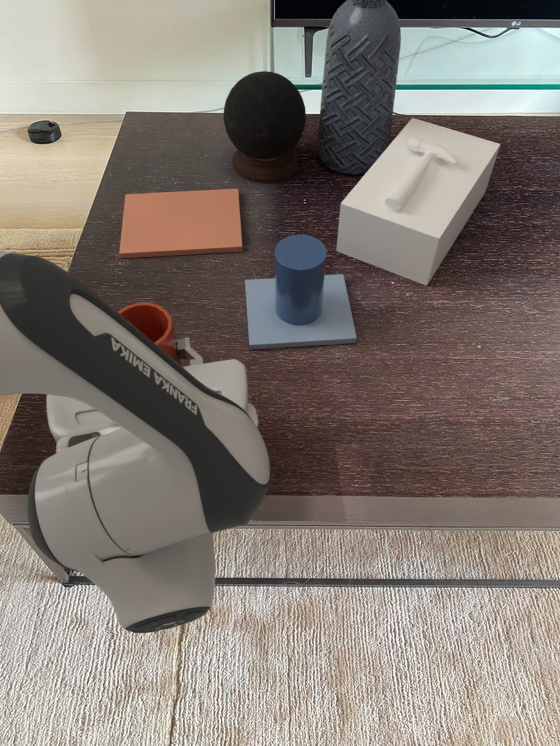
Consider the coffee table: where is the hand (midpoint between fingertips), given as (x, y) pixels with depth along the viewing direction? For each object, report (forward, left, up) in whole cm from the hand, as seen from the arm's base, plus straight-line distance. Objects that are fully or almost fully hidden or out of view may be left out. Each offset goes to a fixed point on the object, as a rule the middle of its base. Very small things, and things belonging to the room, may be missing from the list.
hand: (146, 346), depth 68 cm
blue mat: (+18, +13, -10) cm, 25 cm away
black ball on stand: (+16, +48, -10) cm, 52 cm away
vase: (+31, +49, -10) cm, 59 cm away
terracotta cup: (0, -1, -6) cm, 6 cm away
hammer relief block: (+38, +31, -10) cm, 50 cm away
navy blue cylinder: (+18, +13, -9) cm, 24 cm away
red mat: (+2, +33, -10) cm, 35 cm away
